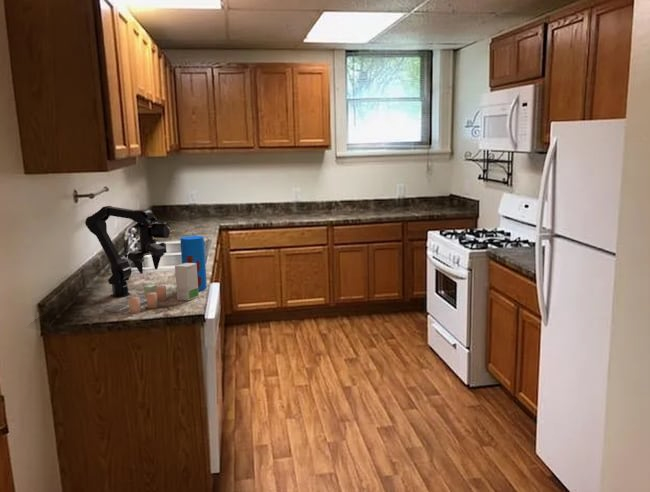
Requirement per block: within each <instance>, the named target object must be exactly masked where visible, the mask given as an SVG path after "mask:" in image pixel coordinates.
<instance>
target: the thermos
mask: <svg viewBox="0 0 650 492" xmlns="http://www.w3.org/2000/svg"><path fill="white" fill-rule="evenodd" d="M179 241H180V254H181V264H183V263H197V278H198V292H200V291H205V290H206V289H207V285H208V284H207V265H206V252H205V249H206V248H205V238H204V236H202V235H187V236H182V237H180V240H179Z"/></svg>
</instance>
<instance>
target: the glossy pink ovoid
mask: <svg viewBox="0 0 650 492" xmlns="http://www.w3.org/2000/svg"><path fill="white" fill-rule="evenodd" d="M156 293H157V301H158V302H165V301H167V300H168V298H167V296H168V295H167V286H166V285H157V287H156Z"/></svg>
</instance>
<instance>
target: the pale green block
mask: <svg viewBox="0 0 650 492" xmlns="http://www.w3.org/2000/svg"><path fill="white" fill-rule="evenodd" d="M157 286H158V285H157V284H148V285H144V286H143V289H144V290H143V292H144V298H146V294H147V293H150V292H156V287H157Z"/></svg>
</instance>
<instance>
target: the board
mask: <svg viewBox="0 0 650 492" xmlns="http://www.w3.org/2000/svg"><path fill="white" fill-rule="evenodd" d="M139 297H140V307H141V306H143V305H147V300H146V297H145V296H144V297H143V296H139ZM104 311H106V312H111V313H119V314H122V313H124V312H128V311H129V301H128V299H127V300H124V301H122V302H118V303H116V304H113V305H110V306H108V307H104Z"/></svg>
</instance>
